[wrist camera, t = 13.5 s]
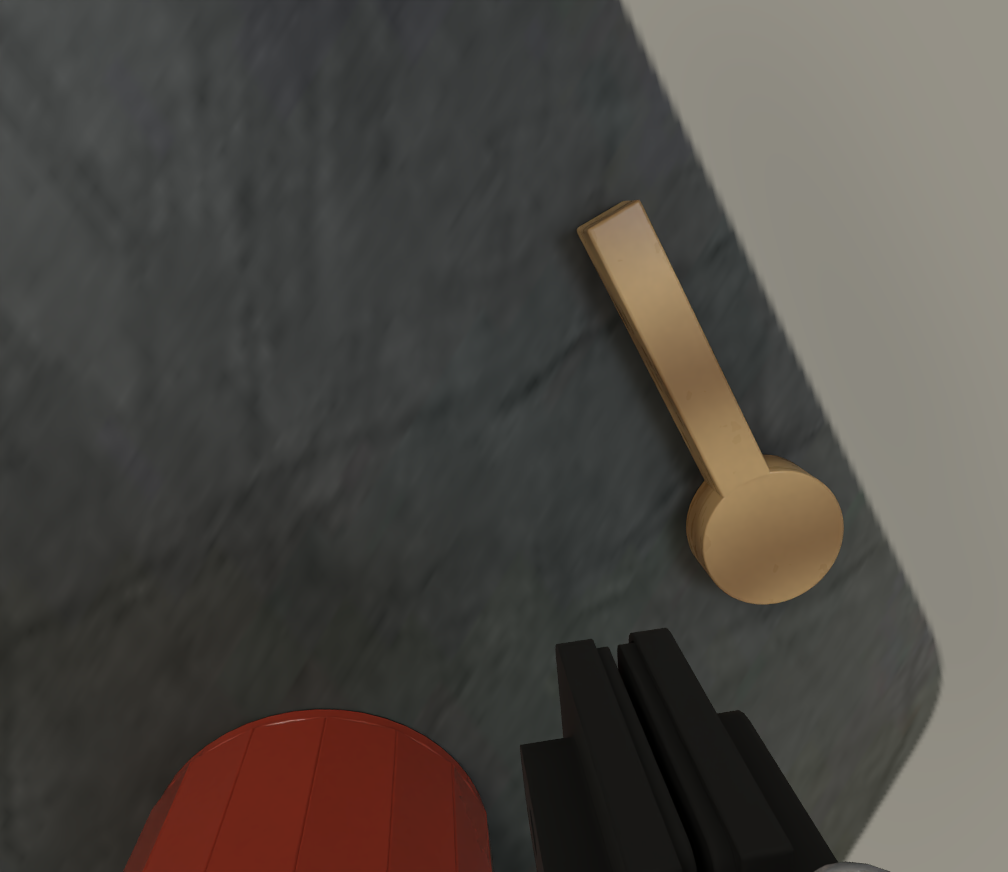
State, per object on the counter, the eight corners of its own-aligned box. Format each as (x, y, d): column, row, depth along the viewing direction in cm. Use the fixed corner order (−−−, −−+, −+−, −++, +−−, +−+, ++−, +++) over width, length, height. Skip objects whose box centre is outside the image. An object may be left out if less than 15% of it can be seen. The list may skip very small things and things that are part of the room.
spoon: (531, 254, 21) (539, 257, 20) (668, 173, 21) (688, 170, 19) (719, 603, 25) (738, 629, 23) (837, 538, 25) (865, 560, 23)
